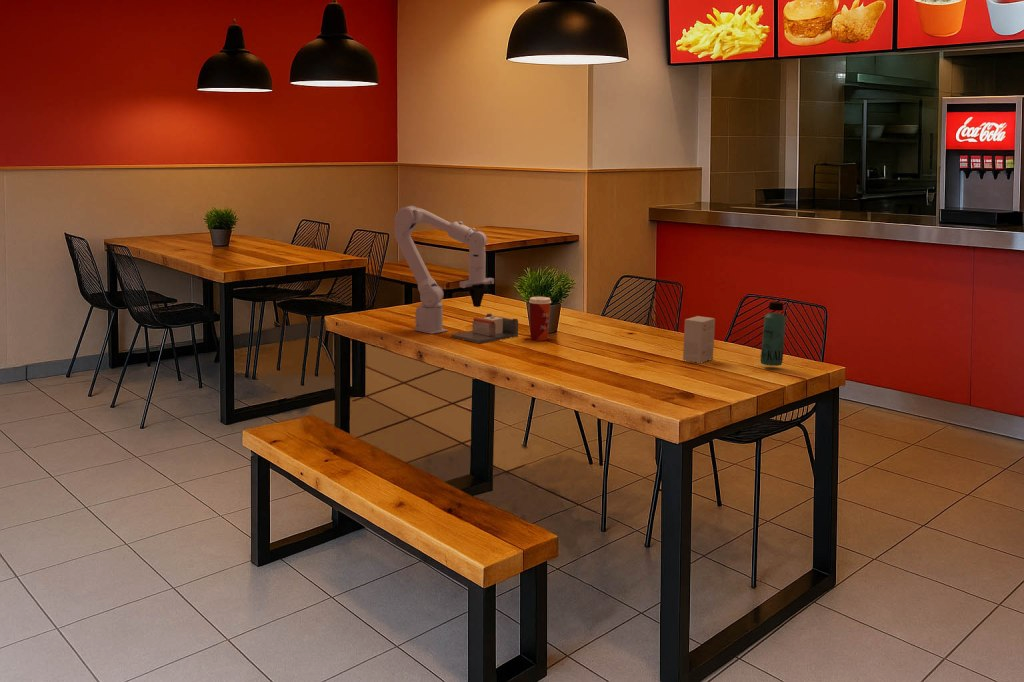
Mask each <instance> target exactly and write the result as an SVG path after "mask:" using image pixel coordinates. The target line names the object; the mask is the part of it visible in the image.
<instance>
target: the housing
mask: <svg viewBox="0 0 1024 682" xmlns="http://www.w3.org/2000/svg"><path fill="white" fill-rule="evenodd" d="M495 316H496V315H492V316H490V317H486V316H485V317H482V318H481V319H484V320H489V321H494V322H495V323H496V325H495V334H498V333H503V318H504V317H503V318H499V317H500V316H498V317H495Z"/></svg>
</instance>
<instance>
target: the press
mask: <svg viewBox="0 0 1024 682" xmlns="http://www.w3.org/2000/svg"><path fill="white" fill-rule="evenodd" d="M490 316H493V315H492V313H487V314H486V315H485V317H490ZM494 316H495V317H499V318H503V333H498V334H495V335H493V336H486V335H481V334H477V333H473V330H468V331H463V332H462V331H461V332H458V333H451V334H450V337H451V338H452V337H454V338H453V339H457V338H459V339H458V340H461V339H464V340H463V341H466V340H468V341H467V342H470V341H472V342H471V343H475V342H476V343H475V344H479V343H482V344H486V343H485V342H487V343H490V341H492V342H496V341H495V340H497V341H501V340H500V339H502V340H506V339H505V338H507V339H511V338H510V337H512V338H516V337H515V336H517V337H519V320H518V318H506V317H502V316H496V315H494Z"/></svg>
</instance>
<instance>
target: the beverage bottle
mask: <svg viewBox="0 0 1024 682" xmlns="http://www.w3.org/2000/svg"><path fill="white" fill-rule="evenodd" d="M768 310H770V311H784V303H783V302H780V301H770V302H769V304H768ZM763 318H764V320H763V329H762V339H761V350H760V364H762V365H765V366H769V367H770V366H772V367H773V366H775V367H776V366H777V367H778V366H781V365H782V364H783V360H784V349H785V333H786V332H785V331H786V322H787V317H786V316H785V315H784V314H783V313H780V312H767V314H765V315H764V316H763Z"/></svg>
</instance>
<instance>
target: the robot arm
mask: <svg viewBox="0 0 1024 682" xmlns="http://www.w3.org/2000/svg"><path fill="white" fill-rule="evenodd" d="M393 220H394V232H393V233H394V238H395V239H394V240H395V241H396V243H397V245H398V247H399V249H400V250H401V252H402V256H403V257H404V259H405V261H406V263H407V265H408V266H409V269H410V271H411V273H412V275H413V277H414V279H415V281H416V283H417V290H418V292H419V297H420V298H419V300H420V302H421V305H420V304H419V305H418V306H417V308H416V309H415V312H414V313H415V316H414V317H415V328H413V331H416V332H421V333H425V334H431V335H432V334H440V333H443V332H448V329H447V328H446V329H445V328H443V321H444V320H443V303H442V301H443V299H444V295H445V293H444V290H443V288H442V287H441V286H440V285H439V284H437V282H436V280H435V279H434V278H433V277H432V276H431V274H430V271H429V270H428V267H427V266H426V263H425V262H424V260H423V258H422V256H421V253H420V252H419V250H418V247H417V246H416V244H415V242H414V240H413V238H412V236H411V235H412V233H413V230H414V228H415V226H416V225H417V224H424V223H425V224H429V225H431V226H433V227H435V228H438V229H440V230H442V231H445V232H446V233H447V235H448V237H449V238H451V239H453V240H456V241H458V242H460V243H461V244H464V245H467V246H468V248H469V253H468V279H465V280H462V281H461V280H460V281H459V288H462V289H467V291H468V293H469V295H470V297H471V301H472V305H473V307H474V308H480V307H481V305H482V300H483V297H484V295H485V294H486V291H487V289H488V286H487V285H494V284H495V278H493V277H486V269H487V268H486V262H487V261H486V259H487V257H486V255H487V254H486V244H487V242H488V237H487V235H486V233H485V232H483V231H482V230H476V228H475V227H469V226H467V225H465V224H464V222H463V221H461V220H460V221H453V222H450V221H447V220H446V219H445V218H442V217H440V216H438V215H436V214H434V213H432V212H430V211H428V210H426V209H424V208H421V207H418V206H415V205H408V206H403V207H400V208H399V209H398V210H397V212H396V214H395V216H394V218H393Z"/></svg>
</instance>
